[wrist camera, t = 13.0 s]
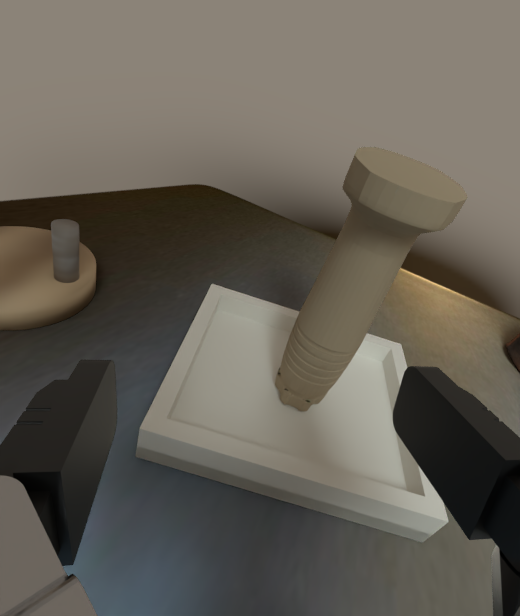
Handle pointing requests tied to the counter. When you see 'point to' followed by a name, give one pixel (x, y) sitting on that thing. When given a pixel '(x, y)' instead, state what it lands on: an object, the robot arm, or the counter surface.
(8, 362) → the counter surface
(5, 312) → the crank wheel
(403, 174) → the handle
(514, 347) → the broken pottery
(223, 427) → the tray
